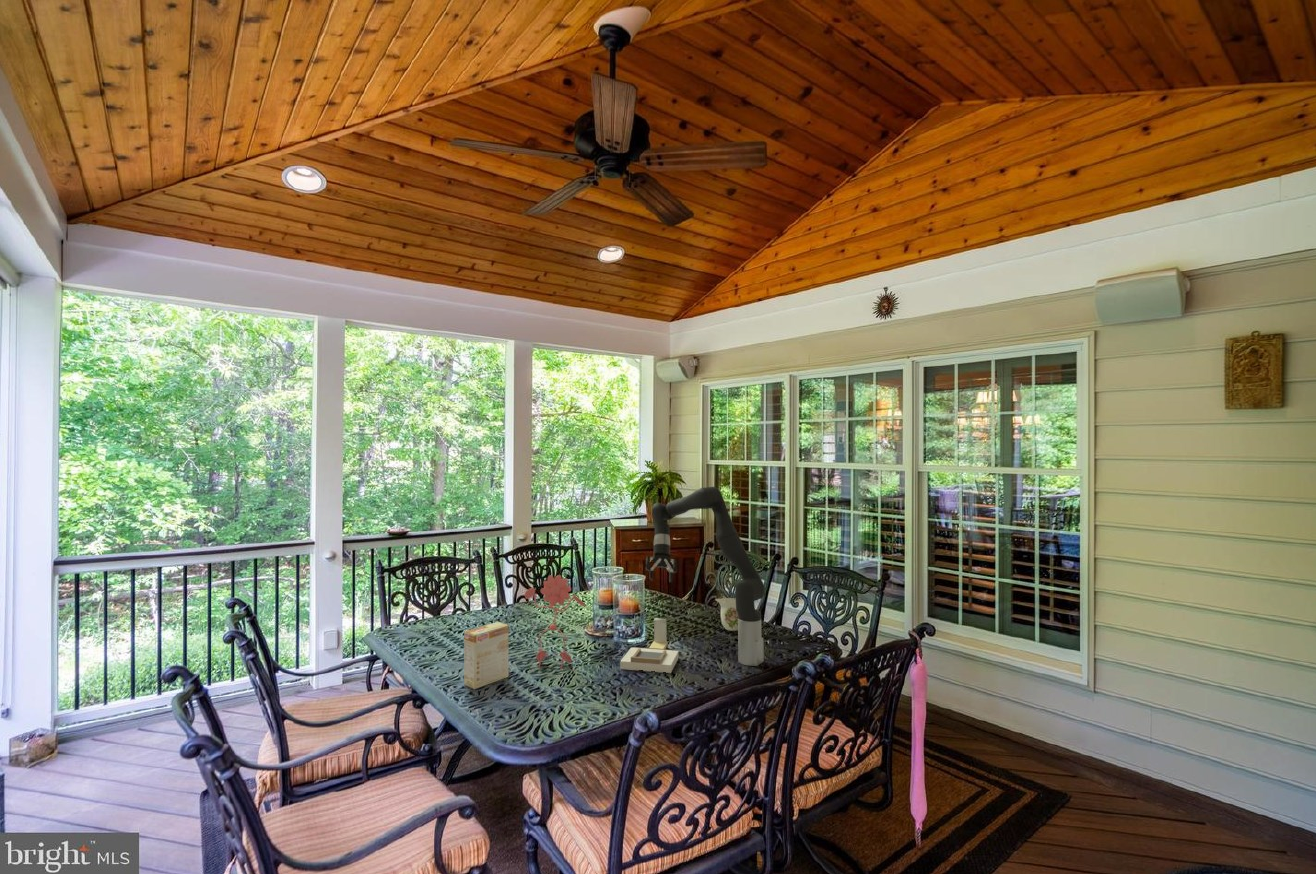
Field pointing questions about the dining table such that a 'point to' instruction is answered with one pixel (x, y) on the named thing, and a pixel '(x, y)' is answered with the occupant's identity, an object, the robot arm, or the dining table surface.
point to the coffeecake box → (486, 655)
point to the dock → (649, 659)
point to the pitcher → (729, 613)
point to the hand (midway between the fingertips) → (661, 580)
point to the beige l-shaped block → (659, 635)
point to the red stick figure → (554, 593)
